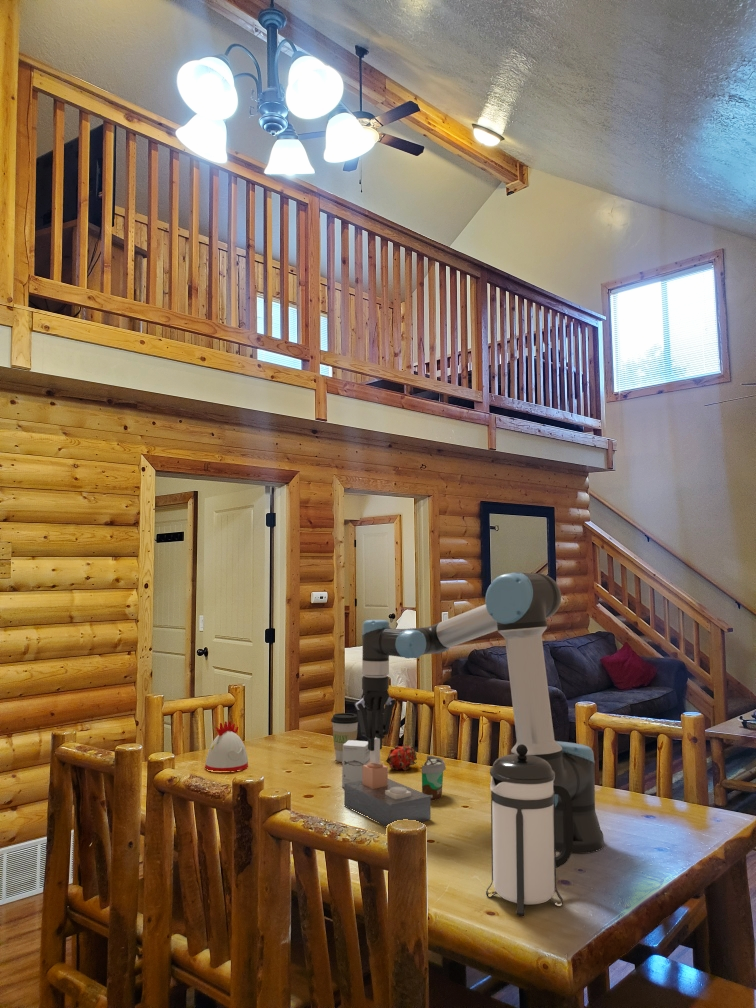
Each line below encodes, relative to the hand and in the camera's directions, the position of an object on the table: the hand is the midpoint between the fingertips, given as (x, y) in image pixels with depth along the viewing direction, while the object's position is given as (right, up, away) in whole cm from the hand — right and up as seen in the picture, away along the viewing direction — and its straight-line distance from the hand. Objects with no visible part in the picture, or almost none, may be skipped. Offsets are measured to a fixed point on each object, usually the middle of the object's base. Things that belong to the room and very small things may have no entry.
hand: (374, 762), depth 200 cm
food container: (+17, -13, +9) cm, 24 cm away
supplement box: (-6, -14, +20) cm, 25 cm away
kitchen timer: (-49, -16, +39) cm, 65 cm away
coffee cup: (-11, -17, +50) cm, 54 cm away
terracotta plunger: (0, -7, -1) cm, 7 cm away
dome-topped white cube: (+6, -10, -10) cm, 16 cm away
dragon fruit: (+9, -16, +38) cm, 42 cm away
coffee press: (+31, -7, -57) cm, 65 cm away
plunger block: (+3, -12, -6) cm, 13 cm away
